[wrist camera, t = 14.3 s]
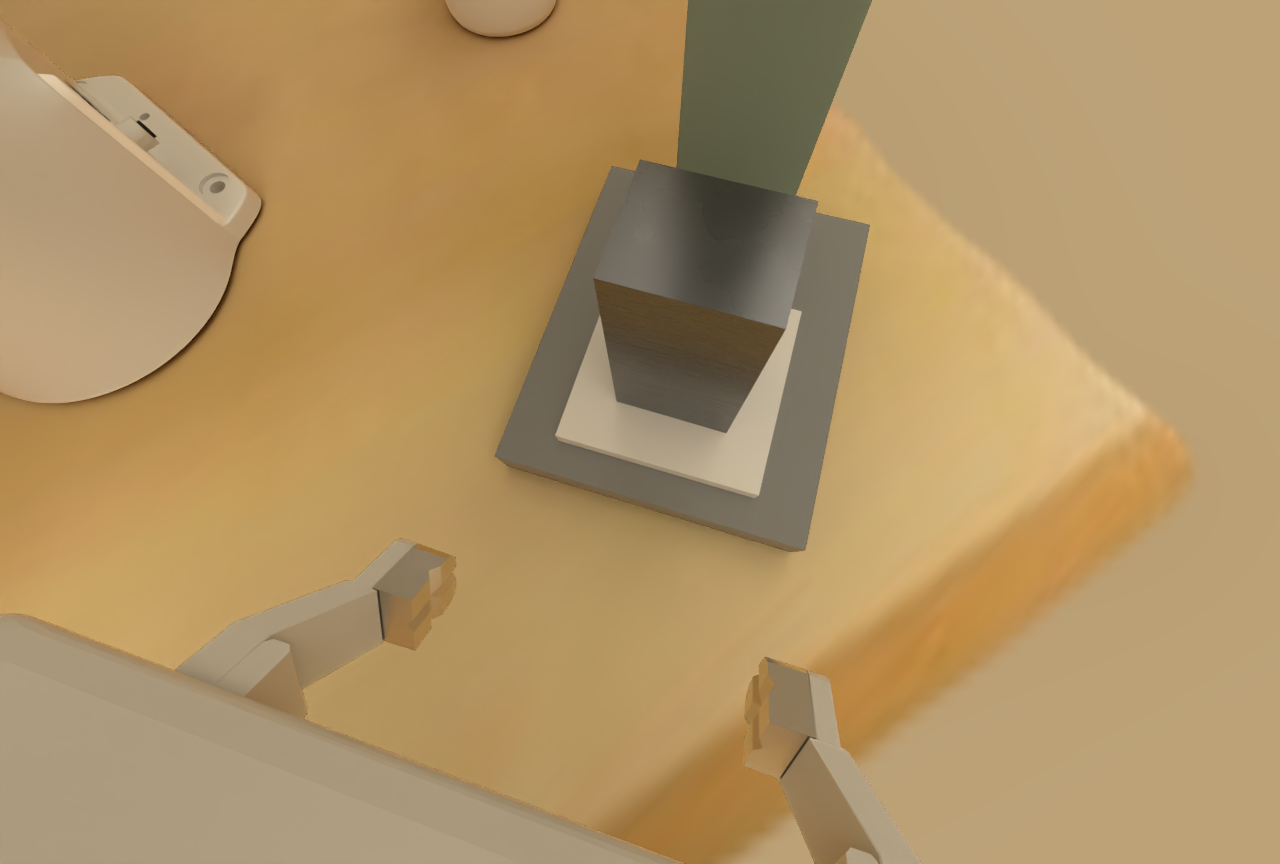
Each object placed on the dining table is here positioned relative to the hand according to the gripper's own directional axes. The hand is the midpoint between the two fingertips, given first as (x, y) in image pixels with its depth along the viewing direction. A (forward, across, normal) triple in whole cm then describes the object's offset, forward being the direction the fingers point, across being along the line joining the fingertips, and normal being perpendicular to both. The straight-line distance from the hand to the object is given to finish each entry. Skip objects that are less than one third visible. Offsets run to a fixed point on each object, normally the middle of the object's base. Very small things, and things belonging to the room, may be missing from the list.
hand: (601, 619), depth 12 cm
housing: (+12, 0, -2) cm, 12 cm away
